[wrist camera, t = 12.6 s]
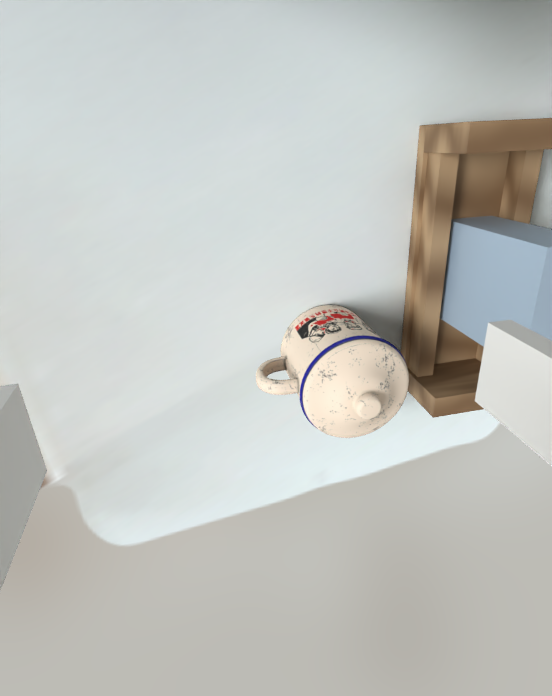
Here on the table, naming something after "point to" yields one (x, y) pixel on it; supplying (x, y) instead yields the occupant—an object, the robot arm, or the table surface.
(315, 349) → the teacup with lid
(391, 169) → the table surface
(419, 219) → the track
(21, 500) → the robot arm
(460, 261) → the blue box with knob
